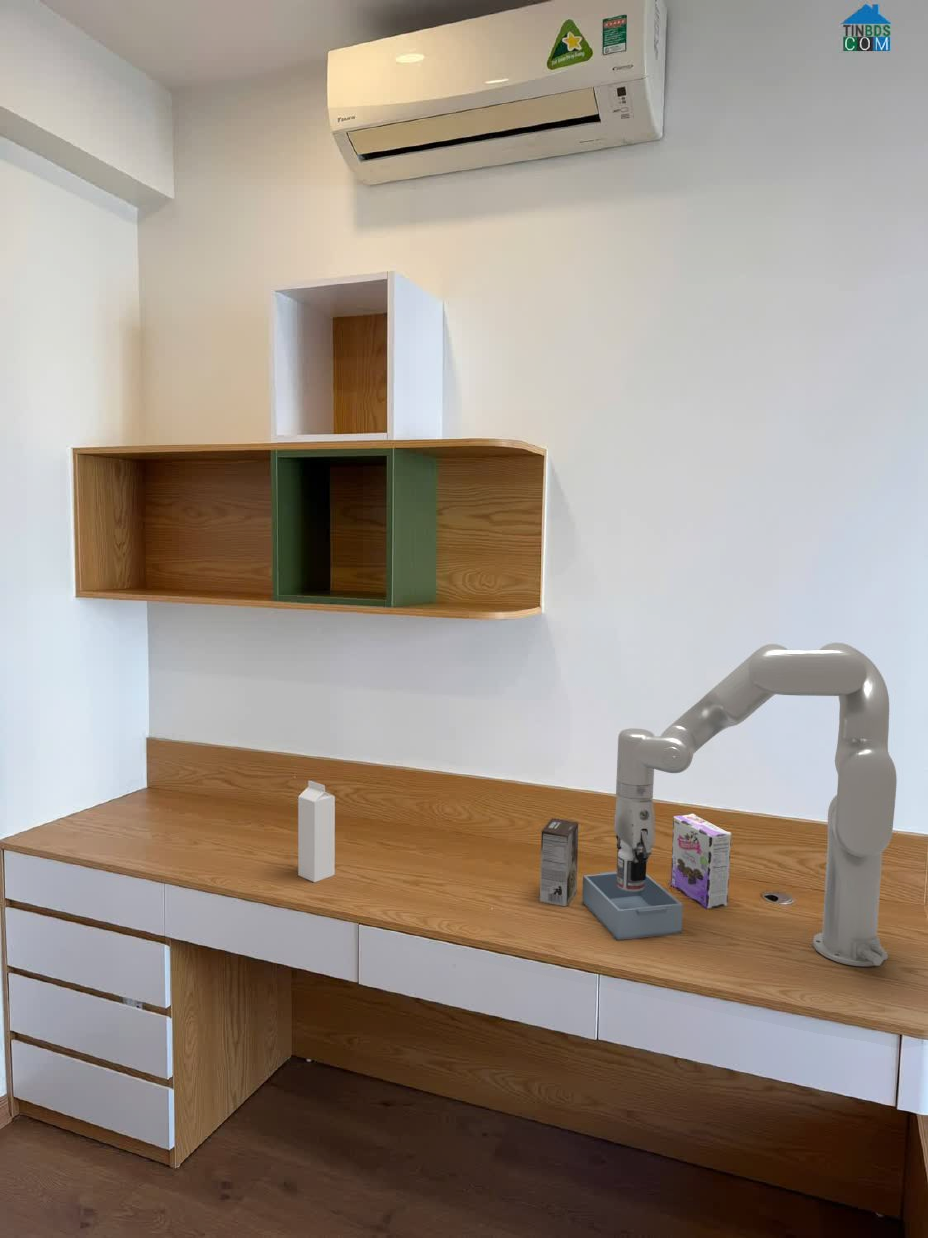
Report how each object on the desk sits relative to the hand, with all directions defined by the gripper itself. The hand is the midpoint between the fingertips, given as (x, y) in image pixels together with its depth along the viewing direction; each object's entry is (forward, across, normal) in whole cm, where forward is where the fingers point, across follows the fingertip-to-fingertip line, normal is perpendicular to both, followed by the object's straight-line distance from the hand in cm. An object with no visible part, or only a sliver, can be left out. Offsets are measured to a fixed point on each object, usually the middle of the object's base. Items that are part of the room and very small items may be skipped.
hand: (631, 873), depth 176 cm
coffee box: (+10, +13, +11) cm, 20 cm away
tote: (+10, 0, 0) cm, 10 cm away
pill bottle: (+3, 0, 0) cm, 3 cm away
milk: (+10, +36, +62) cm, 72 cm away
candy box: (+10, +7, -20) cm, 23 cm away
